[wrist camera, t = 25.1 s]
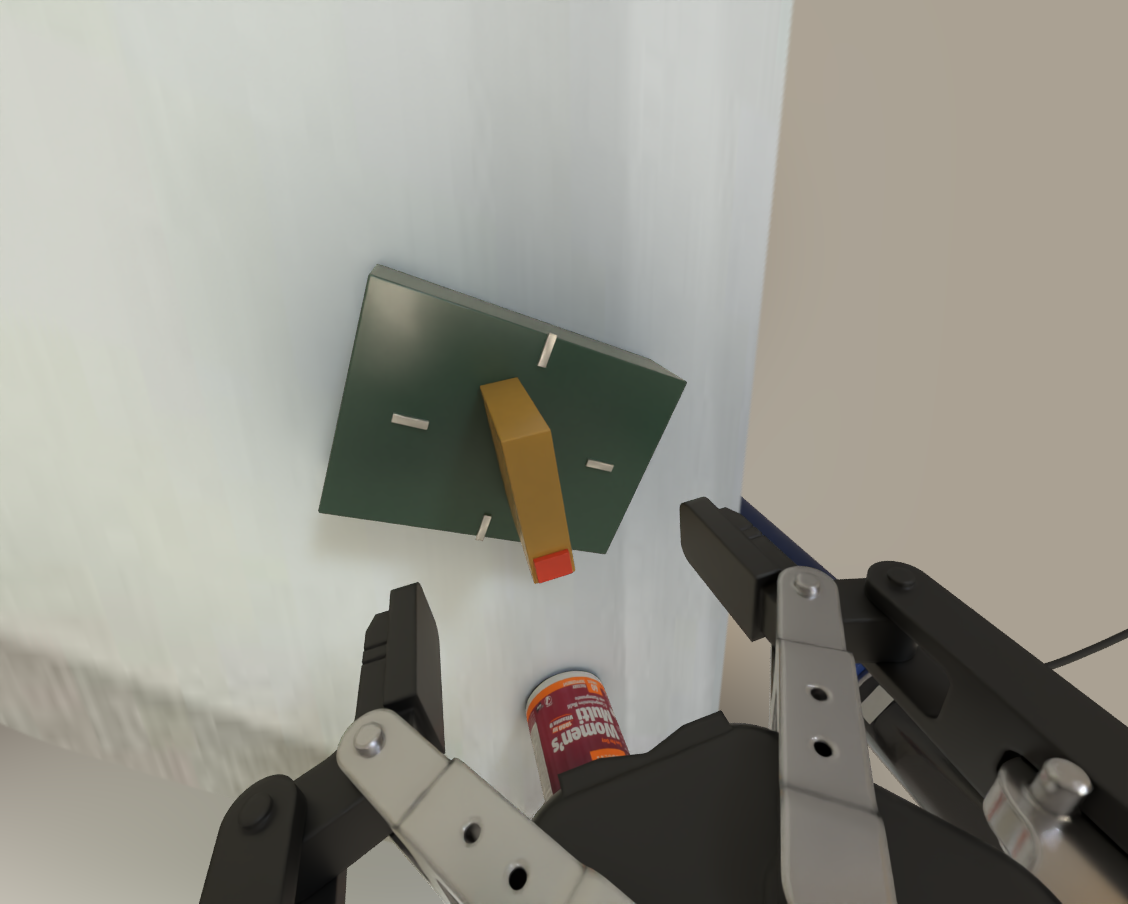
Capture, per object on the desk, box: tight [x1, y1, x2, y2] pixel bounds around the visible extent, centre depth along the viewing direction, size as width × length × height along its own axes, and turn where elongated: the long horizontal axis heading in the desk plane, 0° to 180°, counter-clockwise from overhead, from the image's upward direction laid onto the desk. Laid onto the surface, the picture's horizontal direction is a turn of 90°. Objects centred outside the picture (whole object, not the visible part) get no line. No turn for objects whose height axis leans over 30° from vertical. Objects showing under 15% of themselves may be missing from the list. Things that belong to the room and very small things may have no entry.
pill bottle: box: [526, 671, 630, 802], centre depth 31 cm, size 6×6×11 cm
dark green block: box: [318, 264, 687, 554], centre depth 22 cm, size 14×10×4 cm
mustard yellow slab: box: [480, 377, 575, 584], centre depth 18 cm, size 6×2×6 cm, turn 9°
